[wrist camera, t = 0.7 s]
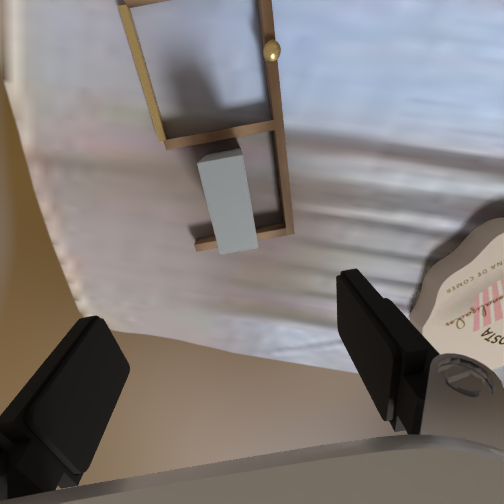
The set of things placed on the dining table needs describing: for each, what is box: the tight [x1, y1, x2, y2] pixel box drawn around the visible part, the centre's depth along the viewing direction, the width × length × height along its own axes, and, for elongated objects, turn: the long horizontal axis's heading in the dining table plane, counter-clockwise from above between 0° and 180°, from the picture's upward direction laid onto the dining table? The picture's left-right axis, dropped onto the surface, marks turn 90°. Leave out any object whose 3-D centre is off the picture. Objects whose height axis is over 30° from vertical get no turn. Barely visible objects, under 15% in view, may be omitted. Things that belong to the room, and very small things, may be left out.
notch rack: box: [118, 0, 294, 252], centre depth 28 cm, size 14×26×3 cm, turn 9°
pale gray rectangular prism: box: [197, 148, 259, 255], centre depth 28 cm, size 4×9×9 cm, turn 10°
